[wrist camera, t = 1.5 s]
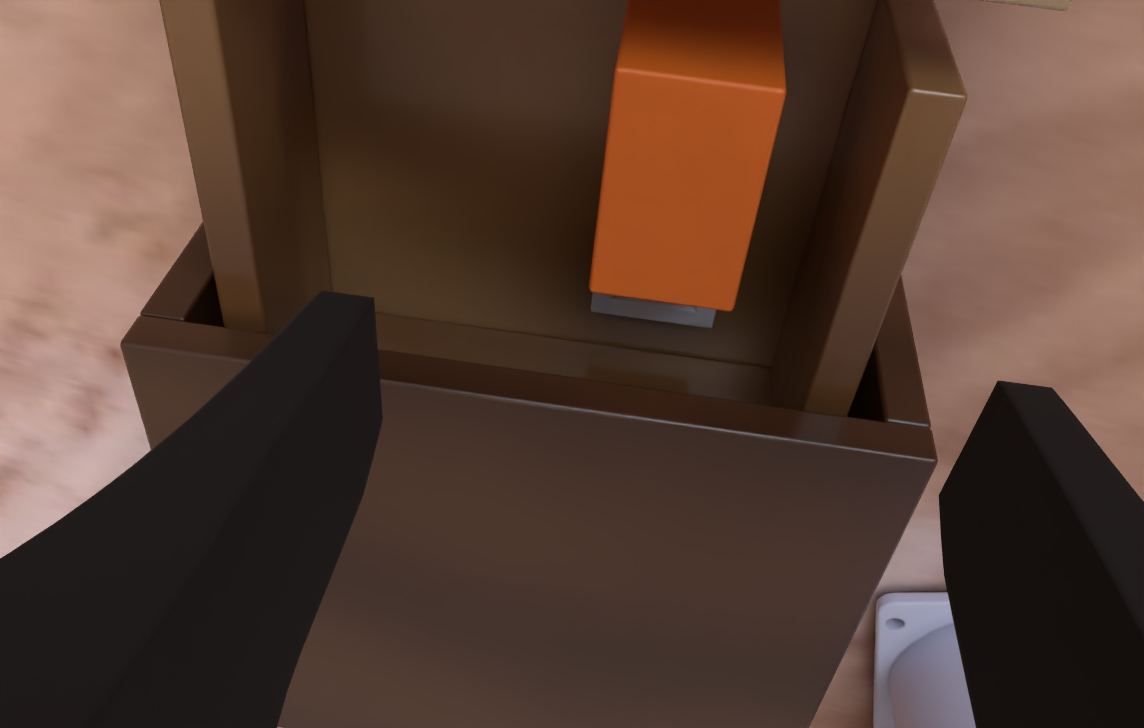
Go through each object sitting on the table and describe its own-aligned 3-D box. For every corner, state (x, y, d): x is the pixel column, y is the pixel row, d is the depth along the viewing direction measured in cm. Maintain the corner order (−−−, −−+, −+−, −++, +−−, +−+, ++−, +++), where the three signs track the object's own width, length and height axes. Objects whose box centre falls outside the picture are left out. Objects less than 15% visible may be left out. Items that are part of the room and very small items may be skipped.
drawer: (151, -682, 13) (-77, -735, 9) (1153, -575, 12) (1321, -584, 9) (287, 292, 23) (205, 444, 20) (828, 369, 23) (844, 538, 19)
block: (632, -23, 16) (614, 68, 14) (780, -3, 16) (788, 90, 14) (595, 281, 21) (576, 389, 18) (713, 298, 20) (709, 408, 18)
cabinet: (256, 142, 22) (117, 342, 17) (894, 229, 21) (940, 462, 16) (311, 515, 30) (229, 720, 25) (766, 583, 30) (772, 805, 25)
